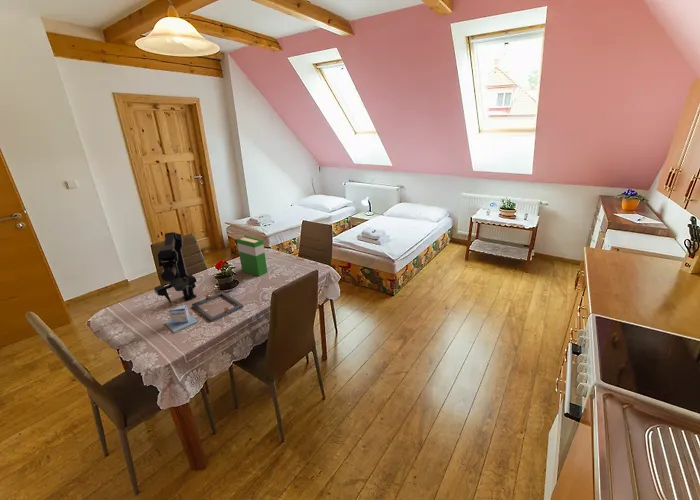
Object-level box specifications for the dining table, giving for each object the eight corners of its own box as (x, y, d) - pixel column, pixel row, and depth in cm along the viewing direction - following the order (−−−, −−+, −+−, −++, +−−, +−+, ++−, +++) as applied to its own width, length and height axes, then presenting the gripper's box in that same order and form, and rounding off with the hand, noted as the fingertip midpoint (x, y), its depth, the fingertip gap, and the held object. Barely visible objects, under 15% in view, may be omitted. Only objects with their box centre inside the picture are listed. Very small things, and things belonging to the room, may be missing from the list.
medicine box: (172, 325, 164) (167, 311, 161) (174, 320, 168) (170, 306, 165) (188, 322, 166) (184, 308, 162) (190, 317, 170) (186, 303, 166)
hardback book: (242, 270, 224) (236, 239, 215) (250, 266, 229) (245, 235, 220) (259, 276, 215) (254, 243, 206) (267, 272, 220) (262, 239, 211)
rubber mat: (164, 323, 167) (164, 322, 167) (188, 313, 175) (187, 312, 175) (174, 333, 159) (174, 331, 159) (198, 322, 167) (197, 321, 167)
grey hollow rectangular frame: (192, 306, 182) (190, 301, 181) (222, 293, 194) (221, 288, 193) (211, 322, 167) (210, 316, 165) (243, 307, 179) (242, 301, 178)
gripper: (157, 284, 148) (166, 312, 155) (197, 270, 161) (204, 297, 167) (149, 277, 155) (158, 304, 162) (188, 264, 168) (195, 290, 174)
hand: (179, 299), depth 166 cm, fingers open, 9 cm apart
